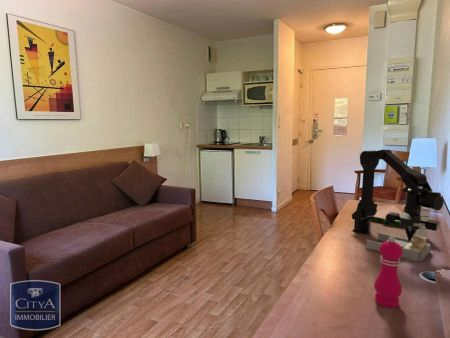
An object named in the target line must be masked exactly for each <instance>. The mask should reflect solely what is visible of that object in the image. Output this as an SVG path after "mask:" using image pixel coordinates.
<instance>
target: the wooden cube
mask: <svg viewBox="0 0 450 338" xmlns="http://www.w3.org/2000/svg"><path fill="white" fill-rule="evenodd" d="M411 240H412V247H414V248H419V249H423V248H425V247H426V243H427V239H426V237H422V236H417V235H415V236H414V237H413V238H412V239H411Z"/></svg>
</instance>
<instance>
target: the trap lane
mask: <svg viewBox="0 0 450 338" xmlns="http://www.w3.org/2000/svg"><path fill="white" fill-rule="evenodd" d="M391 236H392V237H394V238H395V242H396V243H398V244H399V245H400V246H401V247H402V250H403V254H402V256H401V257H400V258H402V259H407V260H411V261H415V262H418V263H422V262H423V260H424V259H425V258H426V257H427V256H428V255H429V254H430V253H431V243H427V242H426V247H425V248H423V249H419V248H414V247H412V239H411V241H408V238H406V237H401V236H396V235H393V234H388V233H383V232H377V240H371V239H366V243H365V244H366V249H369V250H374V251H377V252H380V251H379V248H380V245H381V244H382V243H383V242H385V241H389V240H388V238H389V237H391Z"/></svg>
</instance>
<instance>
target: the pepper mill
mask: <svg viewBox="0 0 450 338" xmlns="http://www.w3.org/2000/svg"><path fill="white" fill-rule="evenodd" d="M388 240H389V241H385V242H383V243H382V244H381V245H380V248H379V251H378V252H379V253H380V255H381V256H380V263H381V269H380V271H379V274H378V275H377V277H376V279H375V280H374V285H373V288H374V290H375V296H374V300H375V302H376V303H377V304H378V305H380V306H383V307H386V308H397V307H398V306H399V305H400V304H399V302H400V298H399V297H400V296H401V295H402V293H403V287H402V284H401V281H400V279H399V274H398V268H399V266H400V265H401V263H400V261H401V258H402V257H401V256H402V254H403V250H402V247H401V246H400V245H399V244H398V243H396V242H395V238H394V237H392V236H391V237H389V238H388Z"/></svg>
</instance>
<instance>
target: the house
mask: <svg viewBox="0 0 450 338" xmlns="http://www.w3.org/2000/svg"><path fill="white" fill-rule="evenodd" d="M404 207H405V205H396V204H387V205H377V212H376V214H375V215H374V217H373V218H374V220H375V221H378V219H379V220H381V222H384V223H387V221H386V220H385V219H386V215H387V214H388V213H390V212H393V213H399V214H400V216H401V214H402V213H403V211H404ZM370 222H372V220H370ZM393 222H394V223H393ZM393 222H391V221H388V225H391V224H392V226H394V225H397V223H400V221H399V220H395V221H393ZM399 227H401V225H400V224H399Z"/></svg>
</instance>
